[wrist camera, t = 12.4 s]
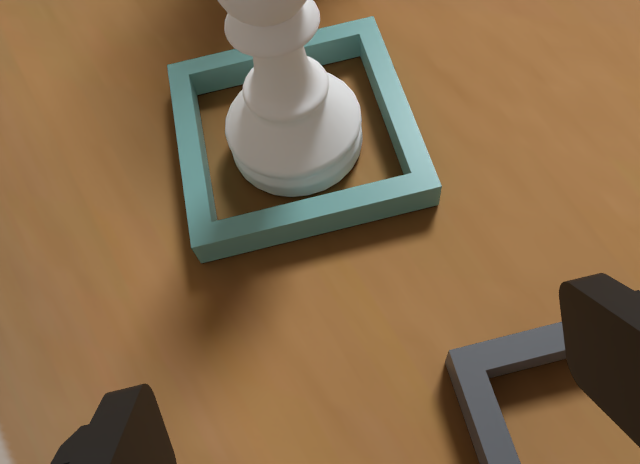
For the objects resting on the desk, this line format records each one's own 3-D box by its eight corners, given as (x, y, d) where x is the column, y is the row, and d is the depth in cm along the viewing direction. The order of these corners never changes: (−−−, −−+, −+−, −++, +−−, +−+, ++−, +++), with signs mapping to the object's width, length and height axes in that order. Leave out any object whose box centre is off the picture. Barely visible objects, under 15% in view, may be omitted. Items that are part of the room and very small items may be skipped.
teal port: (373, 38, 24) (373, 15, 23) (438, 204, 20) (441, 186, 19) (176, 85, 24) (167, 65, 23) (201, 263, 20) (191, 248, 19)
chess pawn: (386, 165, 21) (388, -57, 13) (263, 221, 21) (190, 22, 13) (327, 77, 24) (301, -155, 16) (215, 125, 23) (129, -92, 15)
